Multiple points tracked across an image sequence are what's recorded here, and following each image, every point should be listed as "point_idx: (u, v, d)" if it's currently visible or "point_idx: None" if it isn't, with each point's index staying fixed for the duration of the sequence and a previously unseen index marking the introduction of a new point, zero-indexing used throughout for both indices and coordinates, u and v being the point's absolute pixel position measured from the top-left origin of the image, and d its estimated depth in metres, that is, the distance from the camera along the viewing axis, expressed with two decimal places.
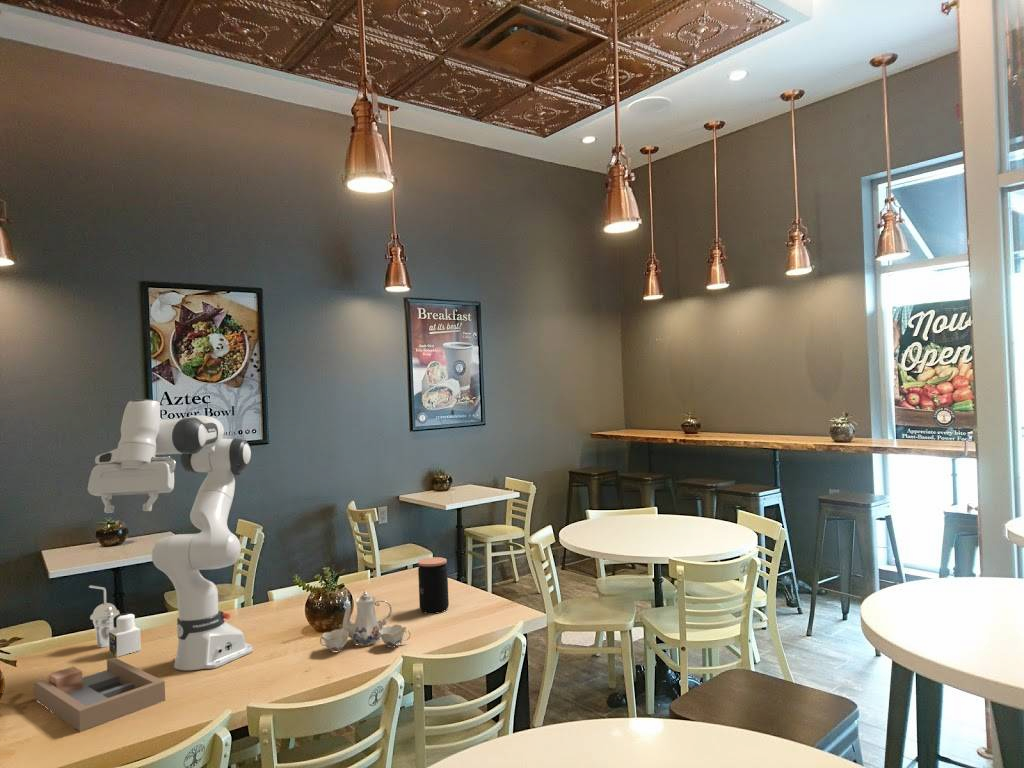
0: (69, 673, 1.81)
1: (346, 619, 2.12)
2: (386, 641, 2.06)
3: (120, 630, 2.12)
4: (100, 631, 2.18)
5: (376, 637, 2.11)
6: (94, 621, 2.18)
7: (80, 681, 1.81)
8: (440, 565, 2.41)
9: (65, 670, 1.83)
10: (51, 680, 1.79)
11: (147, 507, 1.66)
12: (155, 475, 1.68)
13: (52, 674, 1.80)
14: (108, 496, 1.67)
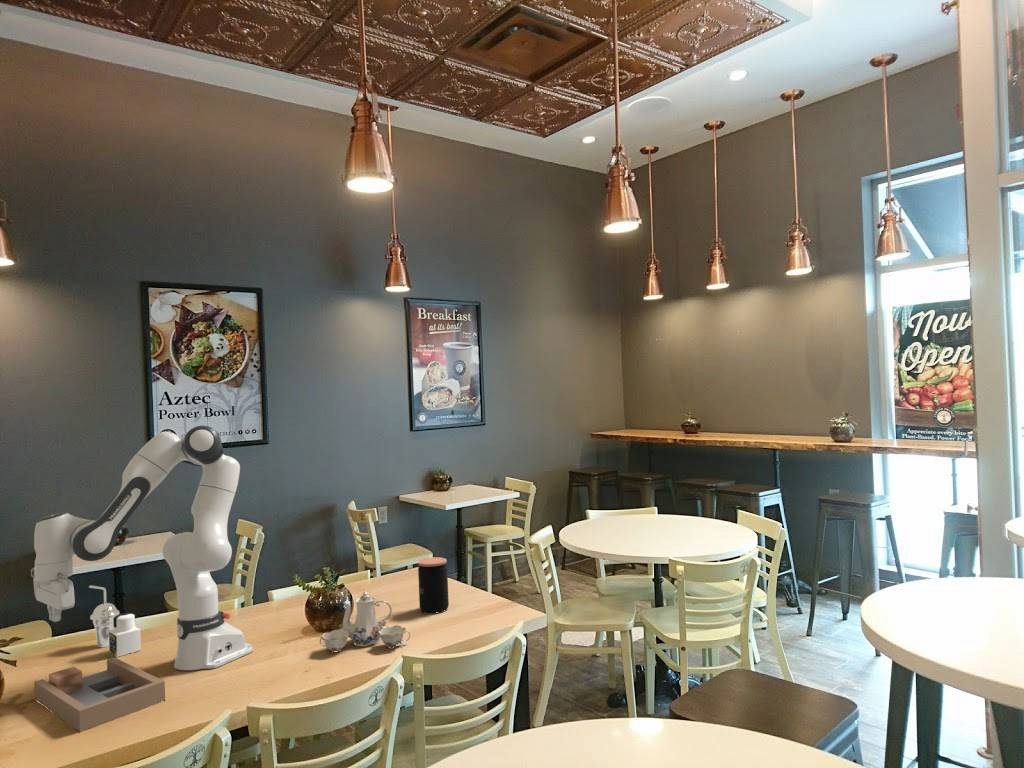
0: (69, 673, 1.81)
1: (346, 619, 2.12)
2: (386, 642, 2.05)
3: (120, 630, 2.12)
4: (100, 631, 2.18)
5: (376, 637, 2.10)
6: (94, 621, 2.18)
7: (80, 681, 1.81)
8: (440, 565, 2.41)
9: (65, 670, 1.83)
10: (51, 680, 1.79)
11: (53, 619, 1.86)
12: (55, 595, 1.82)
13: (52, 674, 1.80)
14: (51, 605, 1.88)
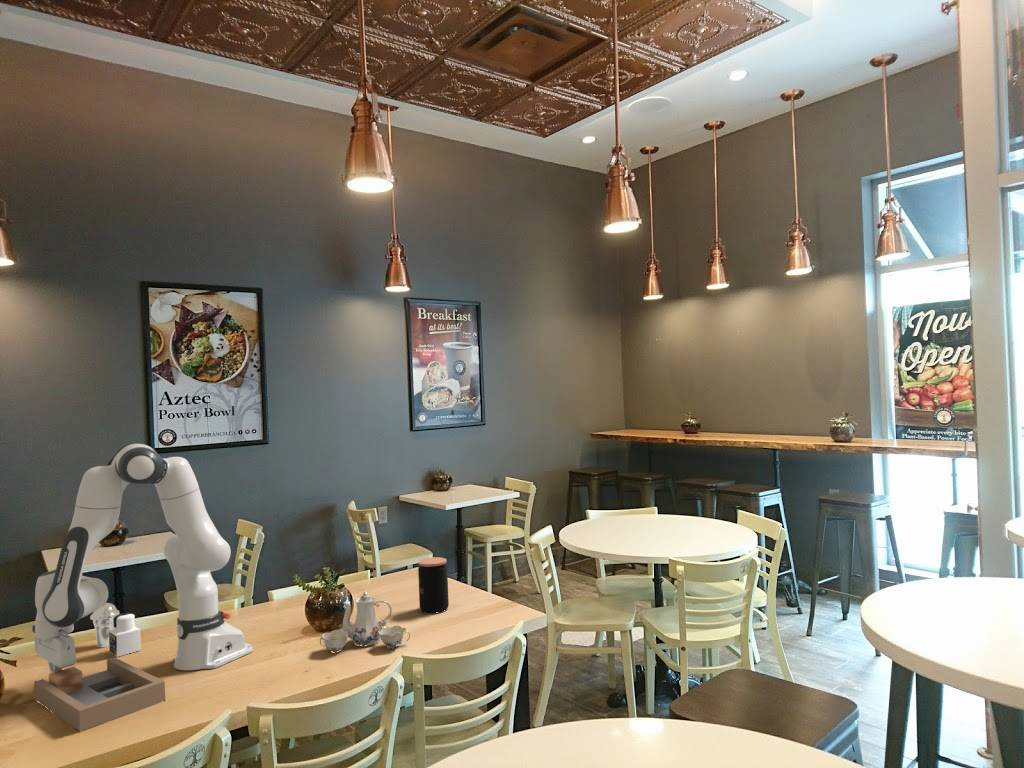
0: (69, 673, 1.81)
1: (346, 619, 2.11)
2: (385, 642, 2.05)
3: (120, 630, 2.12)
4: (100, 631, 2.18)
5: (376, 638, 2.10)
6: (94, 621, 2.18)
7: (80, 681, 1.81)
8: (440, 565, 2.41)
9: (65, 670, 1.83)
10: (51, 680, 1.79)
11: None
12: (56, 652, 1.81)
13: (52, 674, 1.80)
14: None
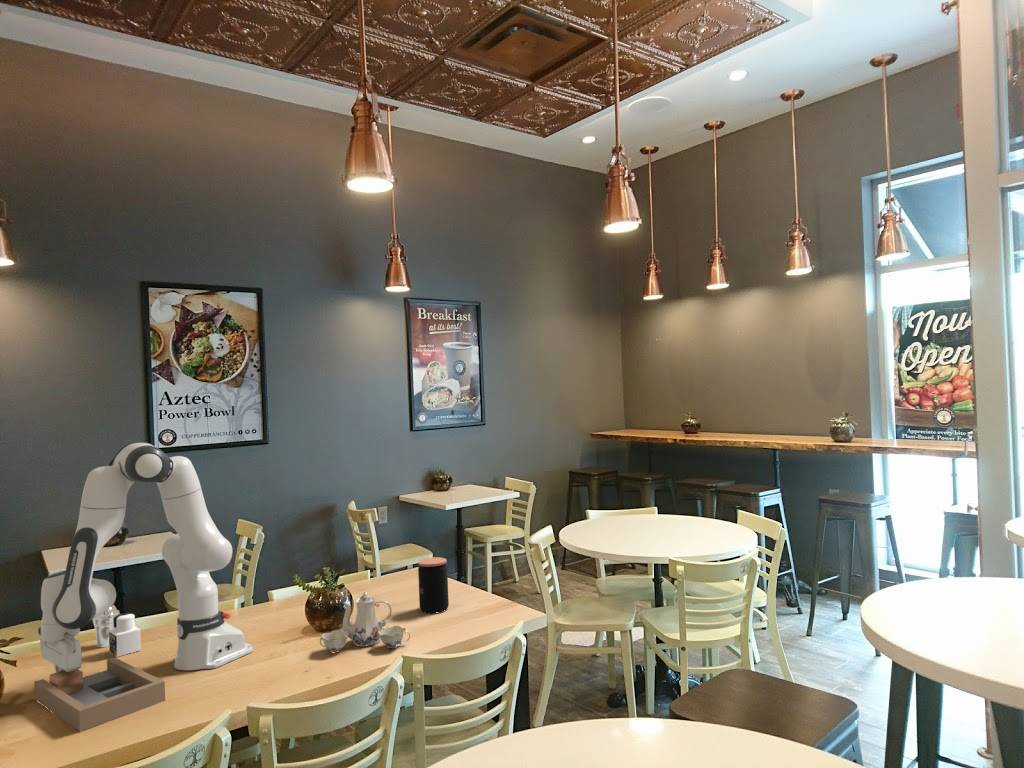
0: (70, 673, 1.80)
1: (346, 619, 2.11)
2: (385, 642, 2.05)
3: (120, 630, 2.12)
4: (100, 631, 2.18)
5: (376, 638, 2.10)
6: (94, 621, 2.18)
7: (81, 682, 1.81)
8: (440, 565, 2.41)
9: None
10: (52, 681, 1.79)
11: None
12: (62, 656, 1.79)
13: (53, 675, 1.80)
14: None
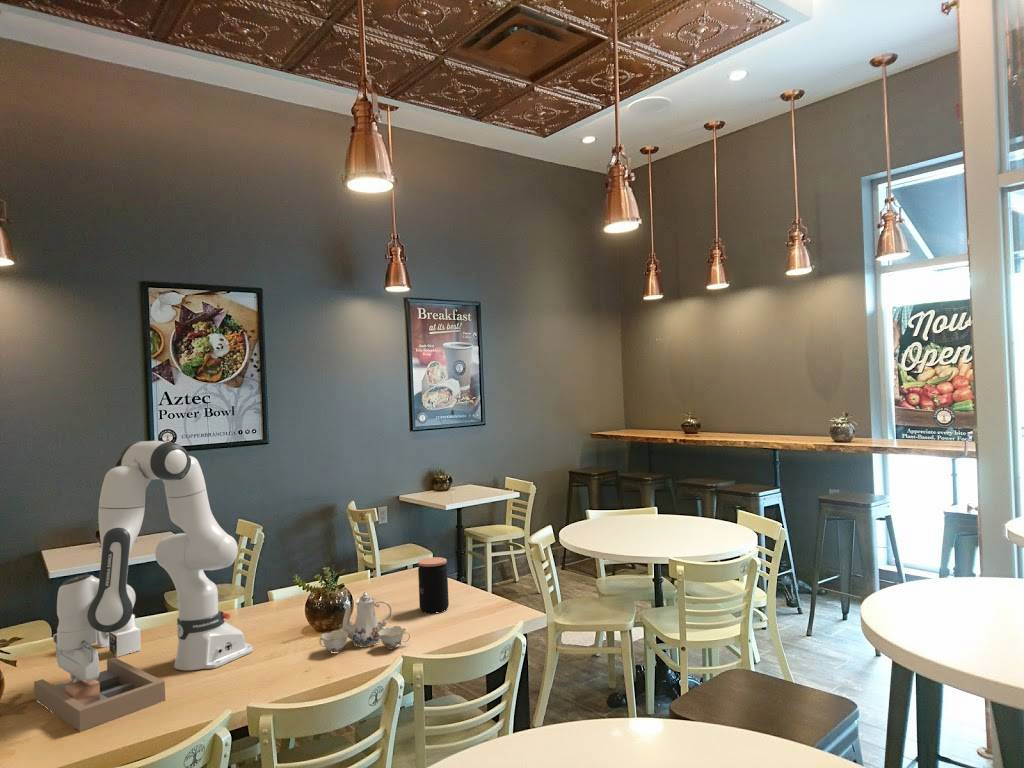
0: (86, 684, 1.72)
1: (346, 620, 2.11)
2: (385, 642, 2.04)
3: (120, 630, 2.12)
4: None
5: (375, 638, 2.10)
6: None
7: (98, 693, 1.73)
8: (440, 565, 2.41)
9: (82, 681, 1.74)
10: (68, 692, 1.71)
11: None
12: (79, 665, 1.71)
13: (69, 685, 1.72)
14: None
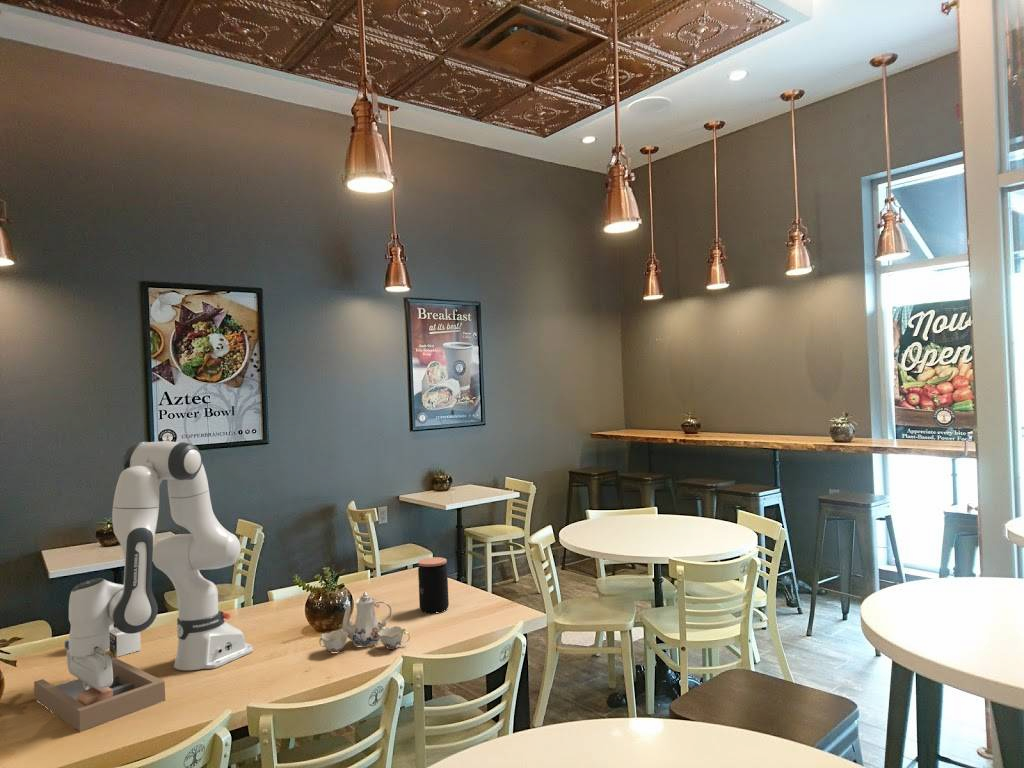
0: (99, 691, 1.67)
1: (346, 620, 2.11)
2: (385, 643, 2.04)
3: None
4: None
5: (375, 639, 2.09)
6: None
7: None
8: (440, 565, 2.41)
9: (95, 688, 1.69)
10: (80, 699, 1.66)
11: None
12: (92, 672, 1.66)
13: (81, 693, 1.67)
14: None
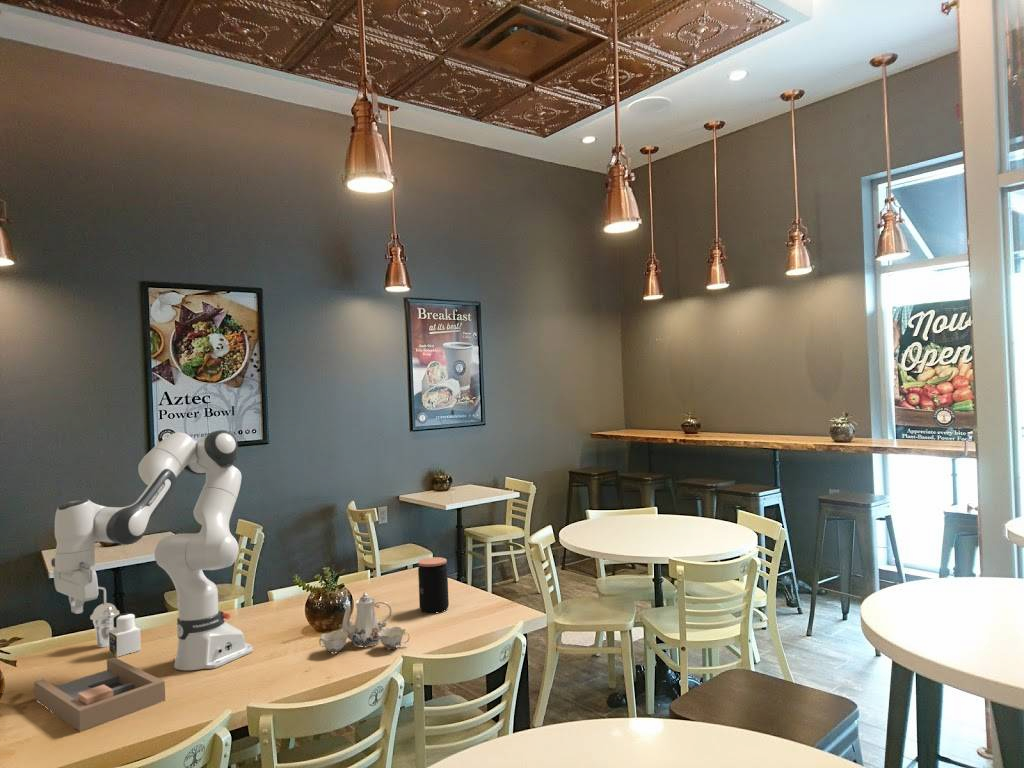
0: (99, 692, 1.67)
1: (346, 620, 2.11)
2: (384, 643, 2.04)
3: (120, 630, 2.12)
4: (100, 631, 2.18)
5: (375, 639, 2.09)
6: (94, 621, 2.18)
7: None
8: (440, 565, 2.41)
9: (95, 688, 1.69)
10: (80, 700, 1.66)
11: (75, 611, 1.76)
12: (78, 585, 1.72)
13: (81, 693, 1.67)
14: (72, 597, 1.78)
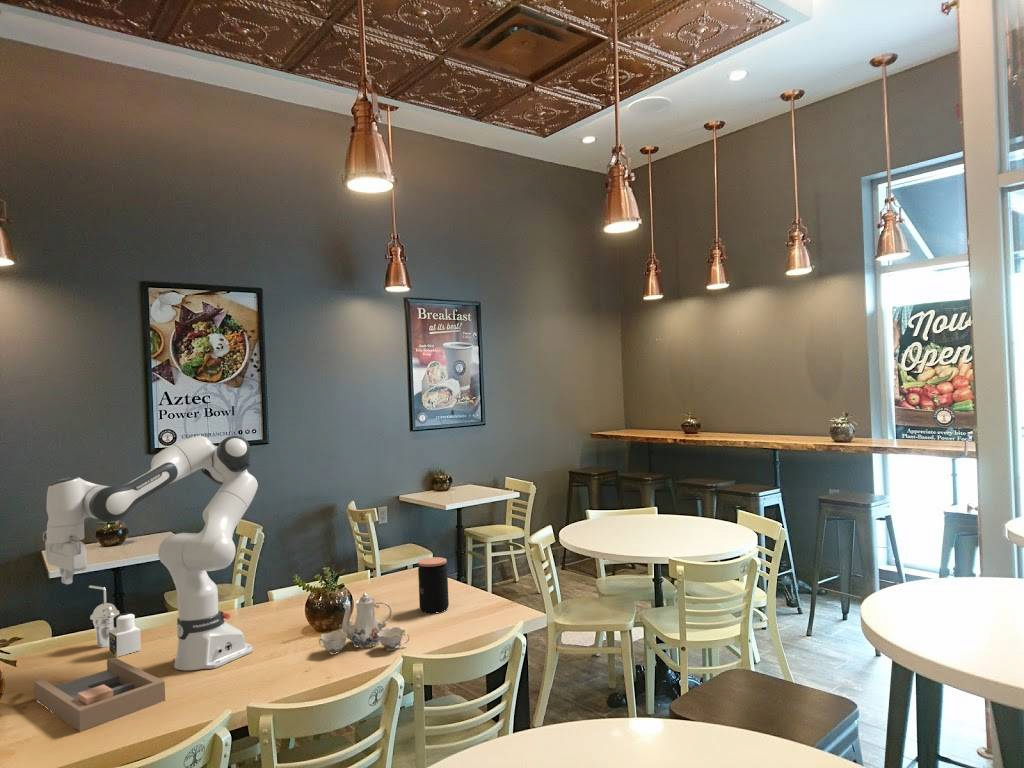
0: (99, 692, 1.67)
1: (346, 620, 2.10)
2: (384, 644, 2.03)
3: (120, 630, 2.12)
4: (100, 631, 2.18)
5: (375, 639, 2.09)
6: (94, 621, 2.18)
7: None
8: (440, 565, 2.41)
9: (95, 688, 1.69)
10: (80, 700, 1.66)
11: (65, 582, 1.87)
12: (67, 557, 1.83)
13: (81, 693, 1.67)
14: (63, 569, 1.89)
